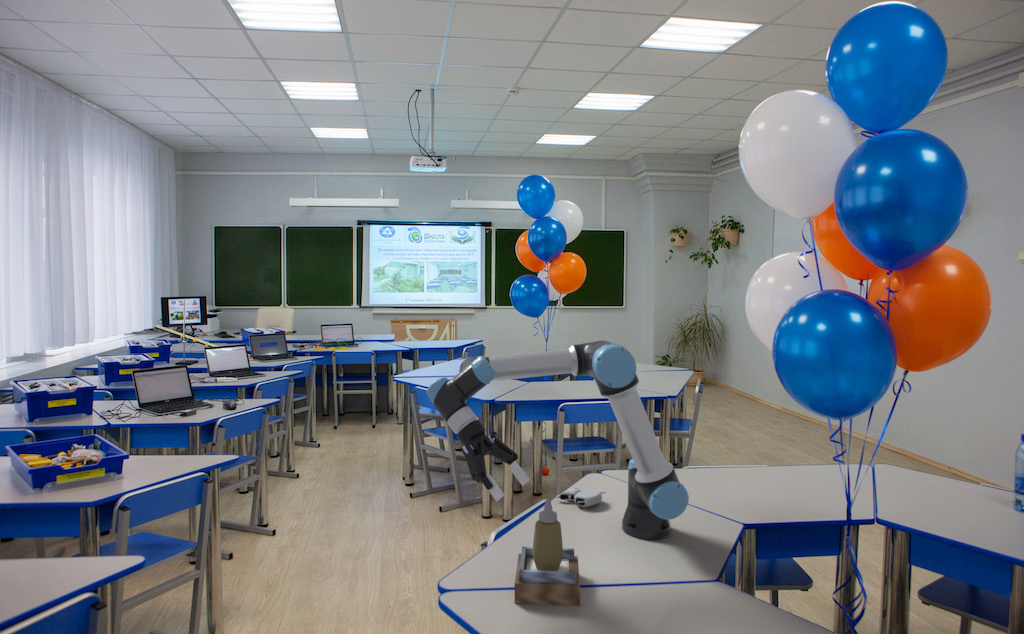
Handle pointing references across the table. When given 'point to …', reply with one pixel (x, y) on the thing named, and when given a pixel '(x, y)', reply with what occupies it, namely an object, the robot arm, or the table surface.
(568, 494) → the robot toy
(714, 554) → the table surface
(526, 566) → the dock
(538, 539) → the squeeze bottle
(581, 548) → the table surface
